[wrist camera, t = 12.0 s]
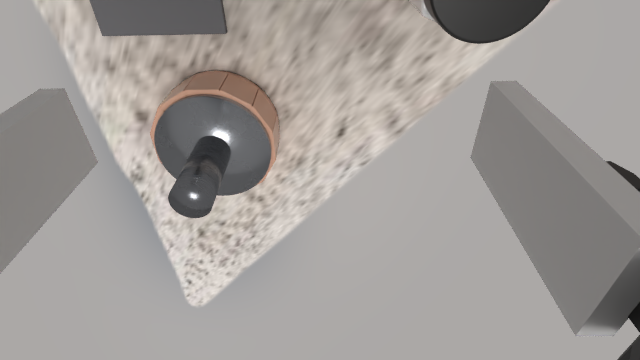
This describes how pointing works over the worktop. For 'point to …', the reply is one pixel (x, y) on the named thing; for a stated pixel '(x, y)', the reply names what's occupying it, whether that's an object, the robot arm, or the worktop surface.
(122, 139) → the worktop surface
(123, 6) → the mat
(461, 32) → the jar
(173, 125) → the lid
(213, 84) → the bowl
